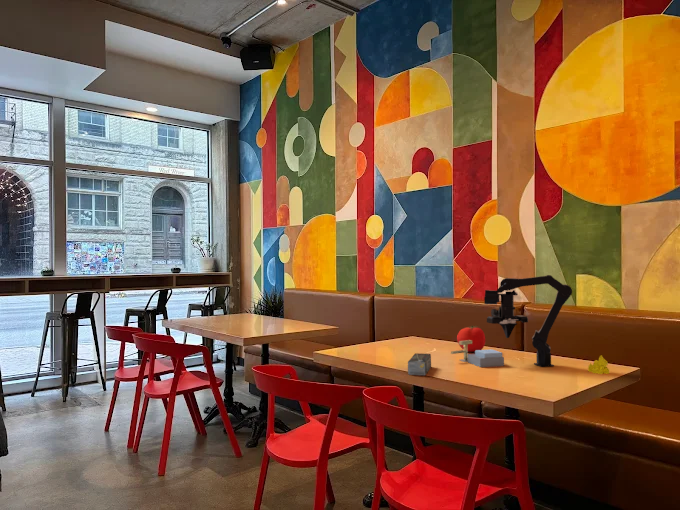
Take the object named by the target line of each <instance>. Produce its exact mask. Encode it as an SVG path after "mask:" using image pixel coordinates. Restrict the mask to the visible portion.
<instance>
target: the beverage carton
mask: <svg viewBox="0 0 680 510" xmlns="http://www.w3.org/2000/svg"><path fill="white" fill-rule="evenodd" d="M431 368H432V353H418V352H417V353H415V352H414V354H413V355H412V356H411V358H410V359H409V360H408V361H407V374H408V375H409V376H411V375H412V376H426V375H427V373H428V372H429V371H430V369H431Z"/></svg>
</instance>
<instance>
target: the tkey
mask: <svg viewBox="0 0 680 510" xmlns="http://www.w3.org/2000/svg"><path fill="white" fill-rule="evenodd" d="M468 344H472V340H465V341H459V344H458V346H460V345H464V349H459V350H453V351H450V354H451V355H454V354H455V355H457V354H463V359H464V360H468V354H469V352H468Z"/></svg>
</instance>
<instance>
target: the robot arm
mask: <svg viewBox="0 0 680 510" xmlns="http://www.w3.org/2000/svg"><path fill="white" fill-rule="evenodd" d="M546 284H547V285H549V286H551V287H552V288H553V289H554V290H556V291H557V292H556V295H555V300H554V302H553V304H552V306H551V308H550V310H549V312H548V314H547V316H546V318H545V320H544V321H543V323H542V325H541V328H540V329H539V330H537V329H535V330H534V331H535V332H534V334H533V336H532V337H531V340H532V341H531V342H532V346H533V348H534V349H536V350H537V351H536V354H535V355H536V362H534V363H533V365H535V366H539V367H542V368H546V367H554V366H555V365H554V364H552V353H551V351H552V350H551V349H552V348H551V346H550V345H549V344H548V343H547V341H548V337H549V333H550V331H551V329H552V327H553V326H554V323H555V321H556V319H557V317H558V315H559V314H560V312H561V309H562V307H563V306H564V305H565V303H566V302H567V301H568V300H569V298H570V297H571V296H572V294H573V289H572V286H570V285H568V284H563V283H561V282H560V281H559V280H558V279H556V278H555V277H553V276H552V275H550V274H547V275H543V276H533V277H525V278H514V277H506V278H505V277H504V278H503V279H501V281H500V286H499V287H498V288H497V289H496V290H490V289H485V290H484V301H483V302H484V305H498V303H500V306H499V307H498V308H499V309H496V308H493V309H491V311H490V313H491V314H490V315H491V316H487V317H486V323H488V324H493V325H494V324H495V325H496V324H497V325H500V326H501V327H502V330H503V333H504V335H505V338H506V339H510V336H511V334H512V332H513V331H514V328H516V325H518V323H517V322H521V323H529V318H528V317H527V315H522V314H521V315H515V313H514V312H515V310H516V307H514V302H515V301H514V300H515V299H514V296H518V292H516V290H515V289H518V288H521V287H529V286H537V285H546ZM511 290H513V291H511ZM504 292H505V293H504Z"/></svg>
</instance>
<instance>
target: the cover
mask: <svg viewBox="0 0 680 510" xmlns="http://www.w3.org/2000/svg"><path fill="white" fill-rule="evenodd" d="M474 354H475V355H478V356H481V357H483V358H493V357H503V352H501V351H498V350H496V349H482V350H475V352H474Z"/></svg>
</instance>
